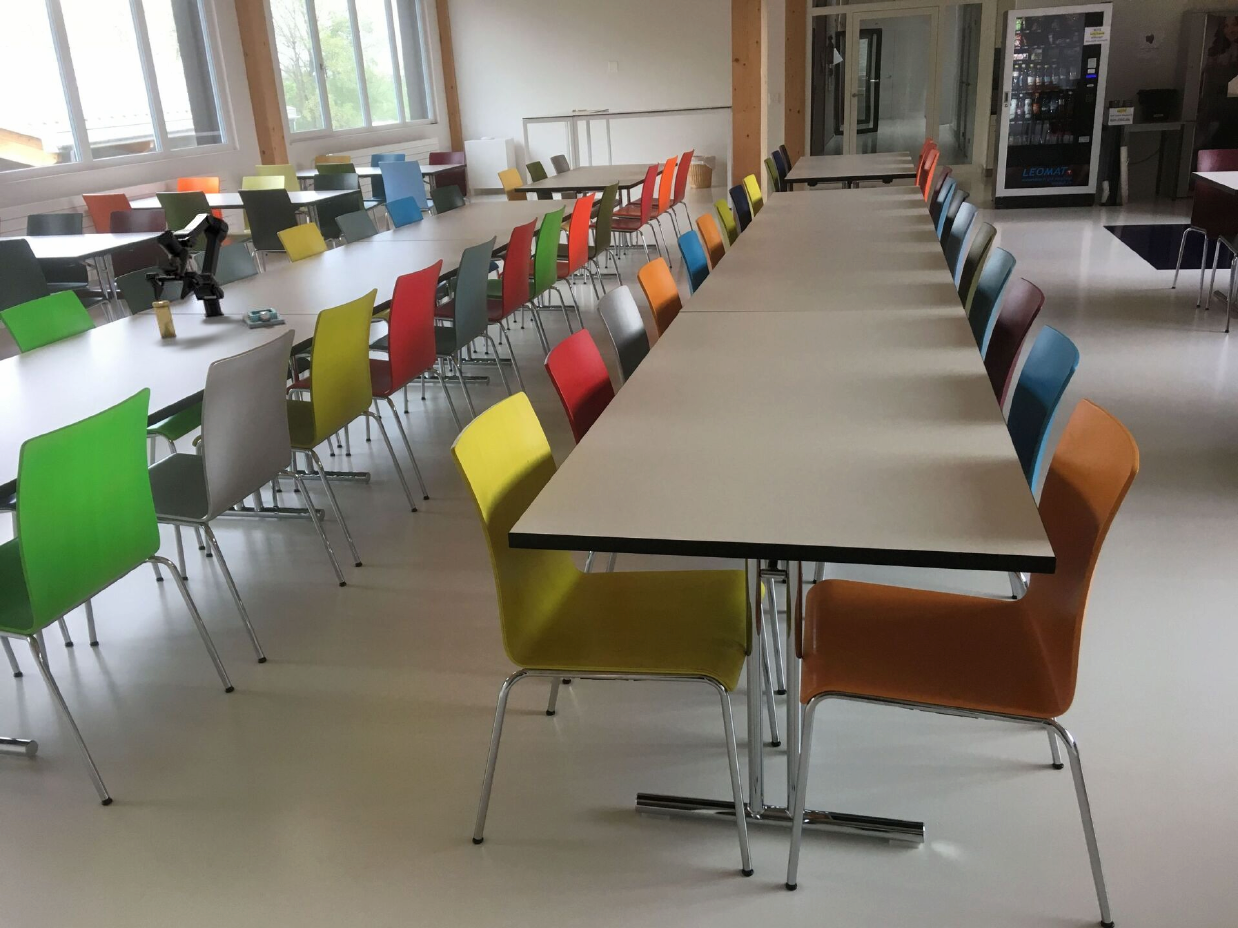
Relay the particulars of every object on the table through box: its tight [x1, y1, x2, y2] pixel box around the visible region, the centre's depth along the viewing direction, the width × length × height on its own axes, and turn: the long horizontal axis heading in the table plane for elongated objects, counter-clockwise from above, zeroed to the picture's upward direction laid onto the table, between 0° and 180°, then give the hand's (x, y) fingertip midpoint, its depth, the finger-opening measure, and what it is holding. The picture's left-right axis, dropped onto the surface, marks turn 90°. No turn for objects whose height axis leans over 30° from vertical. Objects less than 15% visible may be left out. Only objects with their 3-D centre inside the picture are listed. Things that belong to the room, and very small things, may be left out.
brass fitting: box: [151, 300, 177, 339], centre depth 332 cm, size 5×5×12 cm
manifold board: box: [241, 307, 286, 329], centre depth 347 cm, size 18×12×4 cm, turn 28°
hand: (168, 299), depth 335 cm, fingers open, 9 cm apart
